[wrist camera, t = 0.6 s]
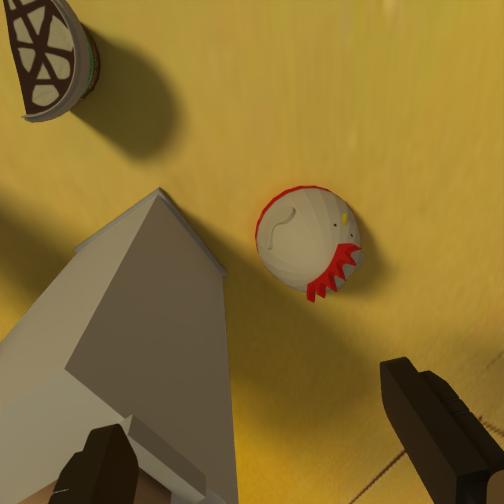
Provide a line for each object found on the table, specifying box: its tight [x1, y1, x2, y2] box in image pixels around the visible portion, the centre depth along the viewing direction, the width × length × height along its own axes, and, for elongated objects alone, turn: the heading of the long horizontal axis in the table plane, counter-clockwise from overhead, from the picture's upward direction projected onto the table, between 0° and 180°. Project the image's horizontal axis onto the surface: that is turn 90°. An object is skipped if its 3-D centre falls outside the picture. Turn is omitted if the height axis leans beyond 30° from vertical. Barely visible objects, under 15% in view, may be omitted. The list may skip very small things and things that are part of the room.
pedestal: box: [0, 187, 239, 504], centre depth 34 cm, size 14×15×34 cm
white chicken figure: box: [255, 186, 365, 303], centre depth 44 cm, size 14×14×15 cm
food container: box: [3, 0, 100, 123], centre depth 35 cm, size 12×6×10 cm, turn 179°
